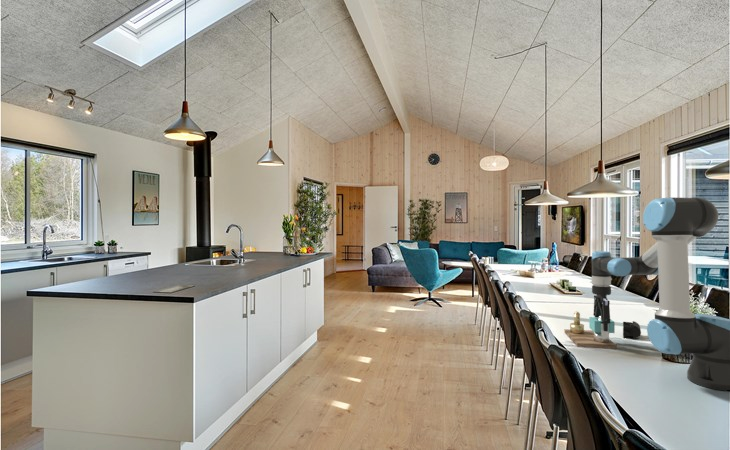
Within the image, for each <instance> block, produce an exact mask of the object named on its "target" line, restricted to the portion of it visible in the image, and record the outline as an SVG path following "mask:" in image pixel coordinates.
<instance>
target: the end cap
mask: <svg viewBox="0 0 730 450" xmlns="http://www.w3.org/2000/svg"><path fill="white" fill-rule="evenodd" d="M622 326H623V327H622V338H623V339H625V338H626V339H627V340H636V339H638V338H639V337H640V336H641V335H642V331H641V327H640V324H639V323H638V322H637V321H634V320H633V321H632V322H630V321H622Z"/></svg>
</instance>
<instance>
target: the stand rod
mask: <svg viewBox="0 0 730 450" xmlns="http://www.w3.org/2000/svg"><path fill="white" fill-rule="evenodd" d="M598 320H602V318H601V316H599V317H598ZM609 339H610V337H609V338H601V333H600V332H594V341H595V342H599V343H609Z"/></svg>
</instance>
